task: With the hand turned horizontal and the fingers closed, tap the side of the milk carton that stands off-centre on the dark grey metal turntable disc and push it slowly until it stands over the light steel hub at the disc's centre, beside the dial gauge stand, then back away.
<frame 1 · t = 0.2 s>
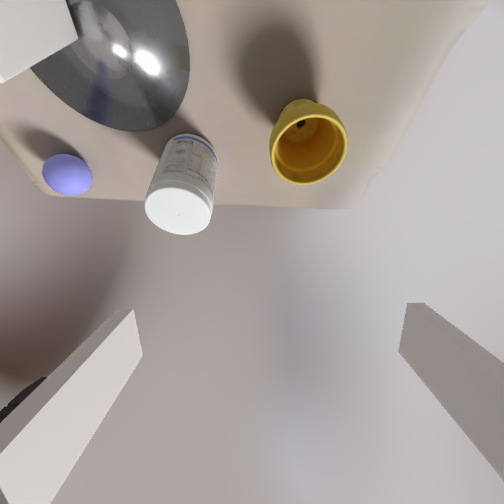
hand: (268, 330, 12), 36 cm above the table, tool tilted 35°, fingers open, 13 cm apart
plant pot: (299, 120, 39), on the table
supplement tub: (192, 156, 44), on the table
sphere: (77, 163, 44), on the table
turntable: (101, 42, 31), on the table
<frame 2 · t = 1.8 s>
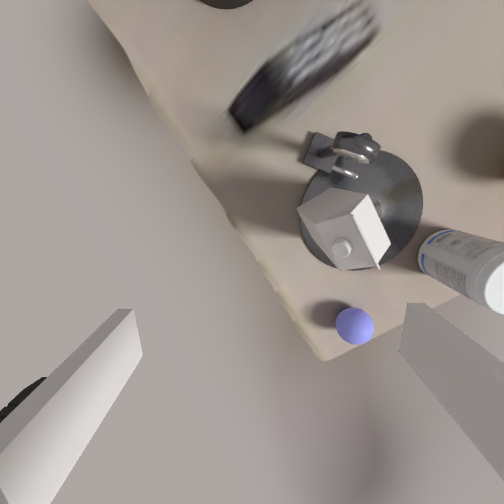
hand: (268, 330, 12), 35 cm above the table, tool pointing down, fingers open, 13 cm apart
dial gauge stand: (321, 153, 41), on the table
supplement tub: (439, 251, 47), on the table
sphere: (347, 315, 51), on the table
turntable: (359, 214, 44), on the table
milk carton: (321, 214, 44), resting on turntable
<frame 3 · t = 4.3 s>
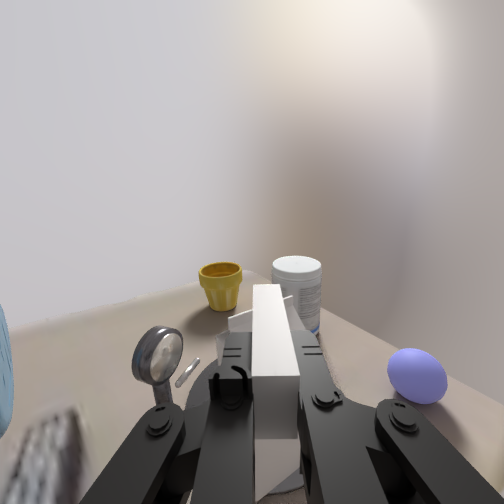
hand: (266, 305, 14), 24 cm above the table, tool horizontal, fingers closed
dial gauge stand: (175, 461, 28), on the table
plant pot: (223, 305, 61), on the table
supplement tub: (294, 329, 51), on the table
sphere: (411, 395, 35), on the table
turntable: (263, 398, 35), on the table
milk carton: (265, 450, 28), resting on turntable
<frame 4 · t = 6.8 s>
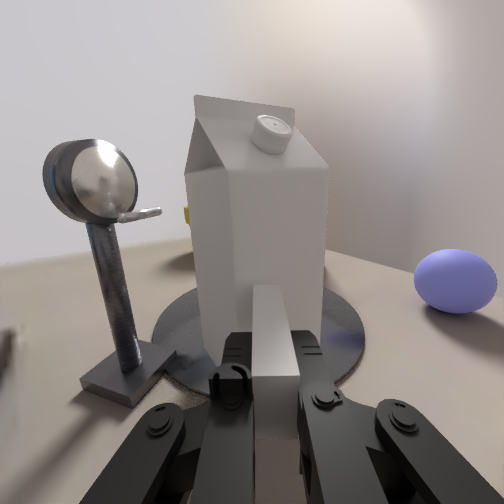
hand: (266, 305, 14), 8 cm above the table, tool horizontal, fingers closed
dial gauge stand: (133, 372, 20), on the table
sphere: (445, 310, 28), on the table
turntable: (257, 316, 27), on the table
milk carton: (258, 359, 21), resting on turntable, touching gripper
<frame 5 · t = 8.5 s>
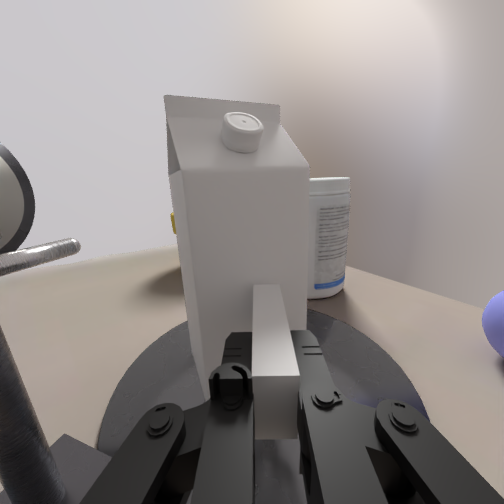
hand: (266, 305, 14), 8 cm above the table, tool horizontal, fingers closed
supplement tub: (307, 286, 35), on the table
turntable: (261, 378, 19), on the table
milk carton: (243, 368, 20), resting on turntable, touching gripper
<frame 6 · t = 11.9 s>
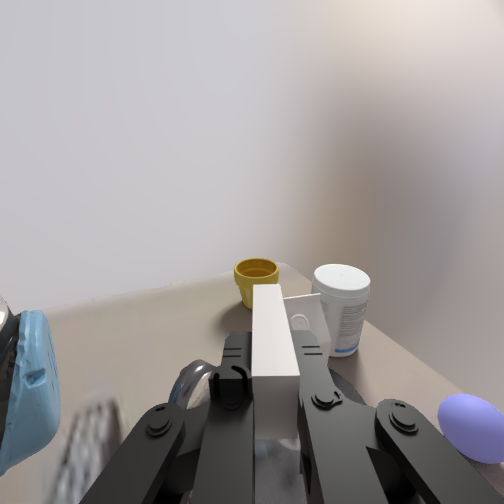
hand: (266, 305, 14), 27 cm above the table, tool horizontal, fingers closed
dial gauge stand: (205, 476, 28), on the table
plant pot: (256, 302, 59), on the table
supplement tub: (331, 341, 48), on the table
sphere: (462, 444, 31), on the table
turntable: (294, 420, 34), on the table
milk carton: (283, 407, 35), resting on turntable
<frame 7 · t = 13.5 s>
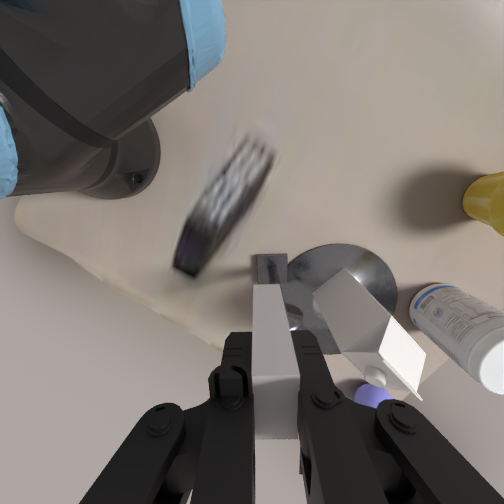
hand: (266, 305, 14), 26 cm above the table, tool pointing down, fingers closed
dial gauge stand: (272, 267, 41), on the table
plant pot: (482, 196, 38), on the table
supplement tub: (432, 304, 43), on the table
sphere: (365, 387, 49), on the table
turntable: (333, 302, 43), on the table
milk carton: (339, 292, 42), resting on turntable
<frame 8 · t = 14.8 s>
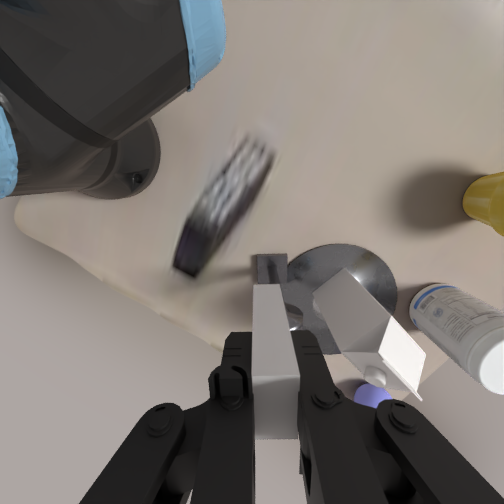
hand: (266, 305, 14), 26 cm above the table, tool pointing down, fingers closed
dial gauge stand: (271, 267, 41), on the table
plant pot: (482, 196, 38), on the table
supplement tub: (432, 304, 43), on the table
sphere: (365, 387, 49), on the table
turntable: (333, 302, 43), on the table
milk carton: (339, 292, 42), resting on turntable
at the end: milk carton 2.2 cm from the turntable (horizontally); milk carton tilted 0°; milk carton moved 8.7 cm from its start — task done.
